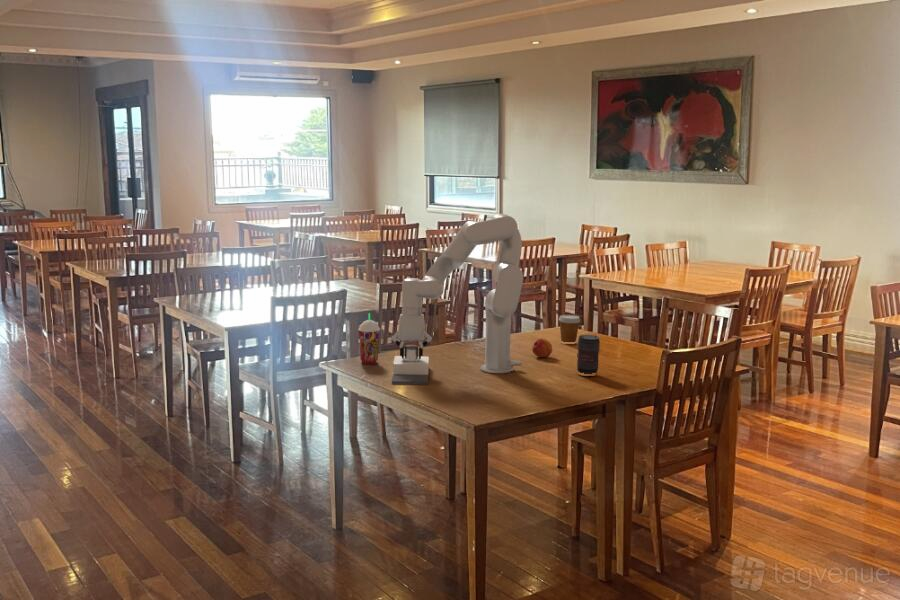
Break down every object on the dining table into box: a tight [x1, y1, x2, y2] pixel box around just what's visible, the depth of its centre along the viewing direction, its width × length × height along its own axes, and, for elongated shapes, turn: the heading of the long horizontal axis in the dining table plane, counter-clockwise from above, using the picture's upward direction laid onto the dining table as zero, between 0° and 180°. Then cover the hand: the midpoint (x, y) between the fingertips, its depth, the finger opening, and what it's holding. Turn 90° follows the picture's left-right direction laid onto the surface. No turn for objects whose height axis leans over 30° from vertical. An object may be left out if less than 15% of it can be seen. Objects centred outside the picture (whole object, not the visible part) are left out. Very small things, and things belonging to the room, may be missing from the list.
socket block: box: [392, 355, 430, 376], centre depth 333 cm, size 13×13×4 cm
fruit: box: [531, 338, 553, 358], centre depth 360 cm, size 8×8×8 cm
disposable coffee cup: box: [558, 314, 581, 342], centre depth 387 cm, size 10×10×12 cm
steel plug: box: [404, 344, 419, 362], centre depth 332 cm, size 5×5×10 cm
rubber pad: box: [391, 373, 429, 385], centre depth 320 cm, size 13×10×1 cm
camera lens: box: [576, 334, 601, 374], centre depth 332 cm, size 8×8×15 cm
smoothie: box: [358, 312, 381, 365], centre depth 344 cm, size 8×8×20 cm
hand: (411, 357), depth 332 cm, fingers open, 5 cm apart
